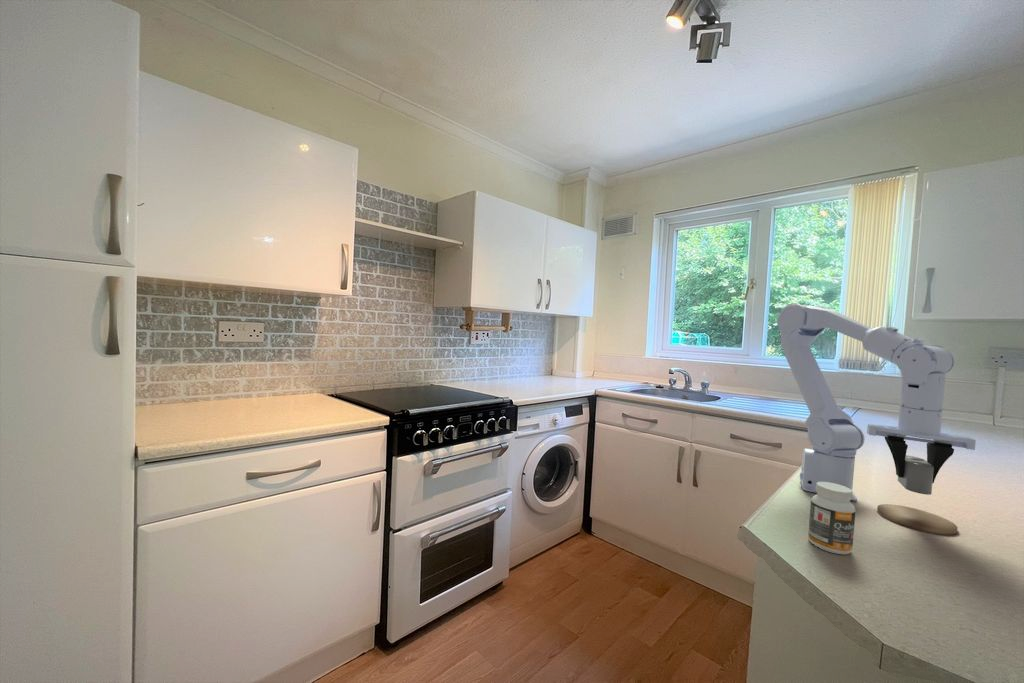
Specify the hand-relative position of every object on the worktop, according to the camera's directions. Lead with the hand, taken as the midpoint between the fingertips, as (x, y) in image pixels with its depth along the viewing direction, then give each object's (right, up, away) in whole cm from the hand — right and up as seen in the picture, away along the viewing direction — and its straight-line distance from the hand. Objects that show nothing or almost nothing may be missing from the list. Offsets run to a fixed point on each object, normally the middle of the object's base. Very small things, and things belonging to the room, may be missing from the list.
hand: (914, 478), depth 78 cm
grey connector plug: (0, -2, +1) cm, 2 cm away
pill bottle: (-25, -8, -11) cm, 28 cm away
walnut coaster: (+1, -8, +1) cm, 9 cm away
